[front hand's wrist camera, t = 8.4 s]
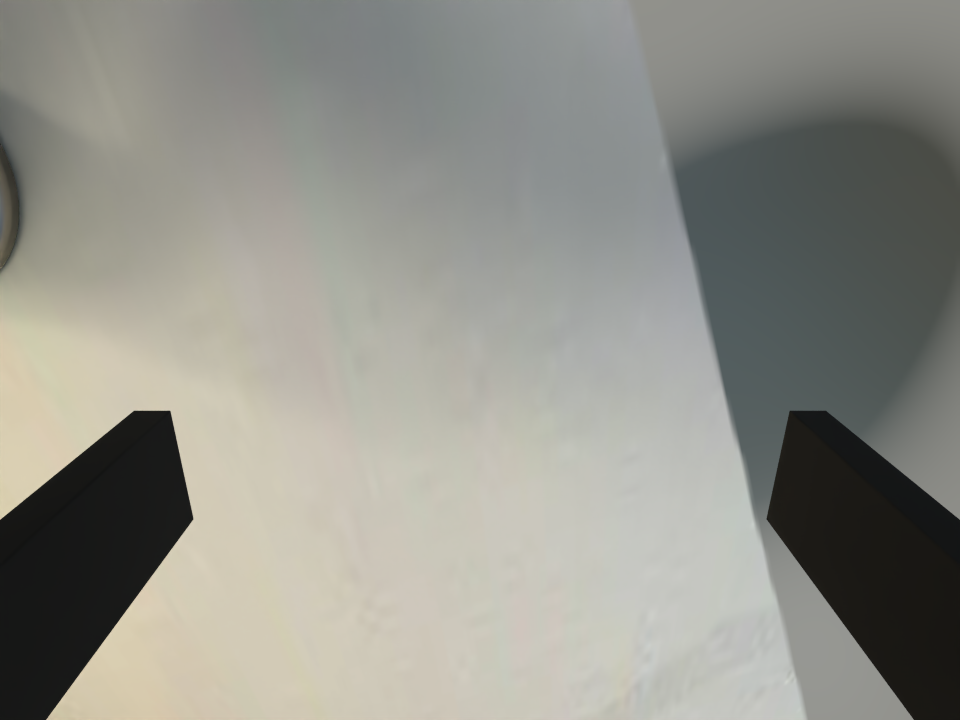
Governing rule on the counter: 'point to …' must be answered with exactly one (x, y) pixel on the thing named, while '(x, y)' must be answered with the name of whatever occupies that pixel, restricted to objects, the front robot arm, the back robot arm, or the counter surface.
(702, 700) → the counter surface
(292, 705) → the counter surface
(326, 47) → the counter surface
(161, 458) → the front robot arm
